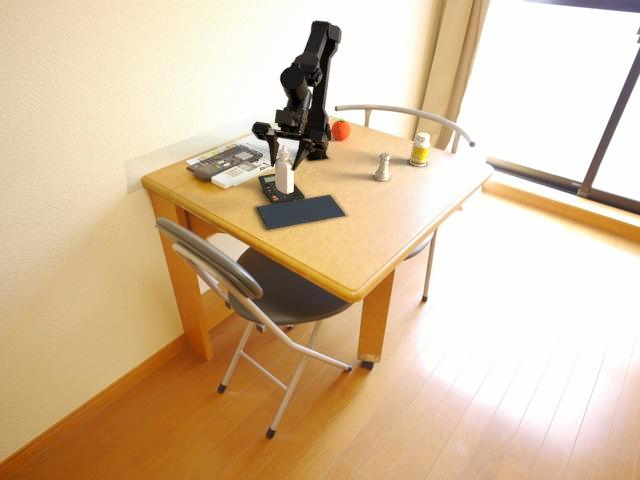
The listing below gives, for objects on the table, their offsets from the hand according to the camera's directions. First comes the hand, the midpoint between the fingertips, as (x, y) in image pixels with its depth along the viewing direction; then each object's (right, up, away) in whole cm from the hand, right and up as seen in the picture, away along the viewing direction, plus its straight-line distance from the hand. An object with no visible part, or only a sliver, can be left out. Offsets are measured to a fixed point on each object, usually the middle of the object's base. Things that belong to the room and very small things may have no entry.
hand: (282, 168), depth 100 cm
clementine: (+17, +19, +48) cm, 54 cm away
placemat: (+4, -10, +7) cm, 13 cm away
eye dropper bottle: (0, -5, +5) cm, 7 cm away
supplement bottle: (+42, +8, +35) cm, 55 cm away
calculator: (-2, -4, +15) cm, 16 cm away
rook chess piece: (+28, +1, +25) cm, 38 cm away
